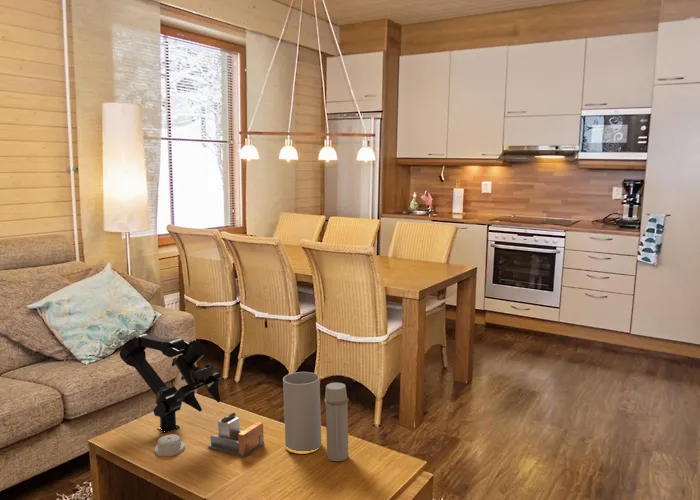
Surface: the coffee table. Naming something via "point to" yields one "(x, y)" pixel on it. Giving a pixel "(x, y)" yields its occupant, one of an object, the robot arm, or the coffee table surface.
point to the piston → (229, 427)
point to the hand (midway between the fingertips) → (210, 406)
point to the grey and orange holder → (240, 441)
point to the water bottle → (336, 421)
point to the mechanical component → (169, 445)
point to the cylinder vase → (302, 411)
